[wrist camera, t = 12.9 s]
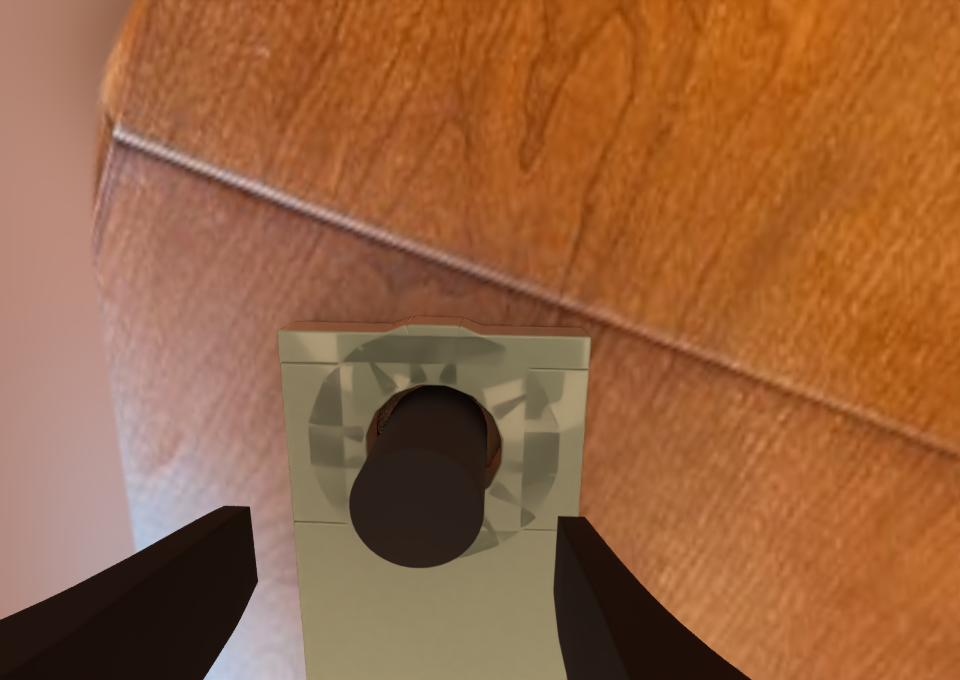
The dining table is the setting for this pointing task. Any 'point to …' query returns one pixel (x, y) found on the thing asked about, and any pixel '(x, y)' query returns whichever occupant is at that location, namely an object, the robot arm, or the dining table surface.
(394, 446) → the stopper
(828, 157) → the dining table surface
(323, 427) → the plate
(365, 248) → the dining table surface
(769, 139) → the dining table surface
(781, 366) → the dining table surface
